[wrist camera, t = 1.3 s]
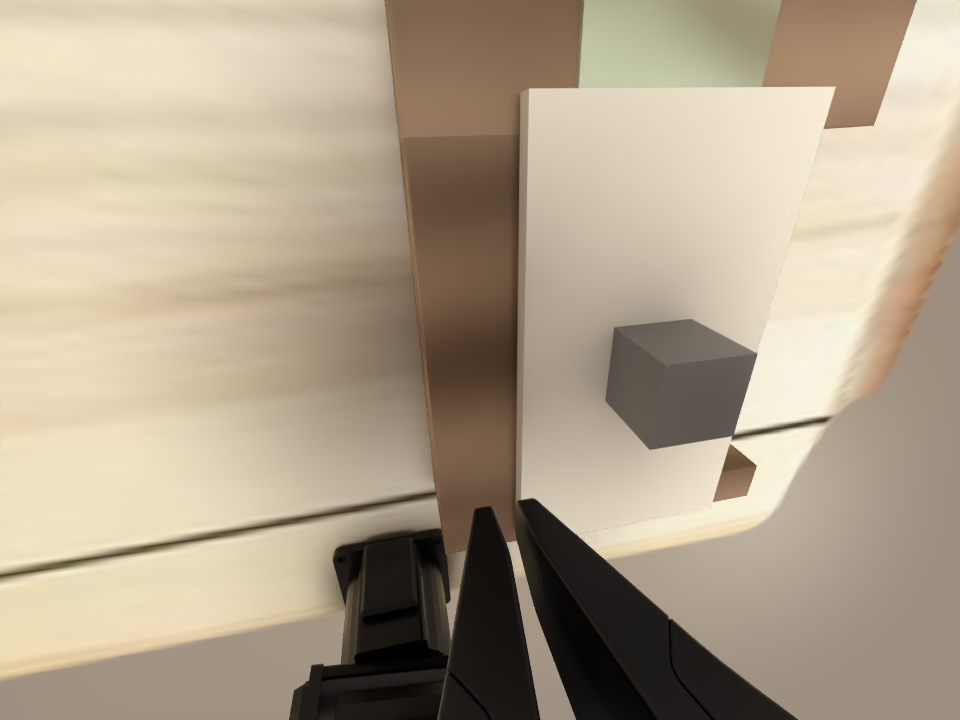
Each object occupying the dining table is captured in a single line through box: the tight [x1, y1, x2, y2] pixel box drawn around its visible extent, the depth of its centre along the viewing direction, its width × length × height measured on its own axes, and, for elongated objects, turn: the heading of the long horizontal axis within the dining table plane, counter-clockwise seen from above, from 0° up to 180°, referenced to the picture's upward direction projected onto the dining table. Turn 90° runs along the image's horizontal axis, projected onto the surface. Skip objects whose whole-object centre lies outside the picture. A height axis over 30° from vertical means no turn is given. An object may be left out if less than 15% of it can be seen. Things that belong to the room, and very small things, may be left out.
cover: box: [516, 87, 836, 534], centre depth 14 cm, size 17×10×4 cm, turn 2°
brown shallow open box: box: [385, 0, 917, 554], centre depth 17 cm, size 24×16×5 cm, turn 2°
